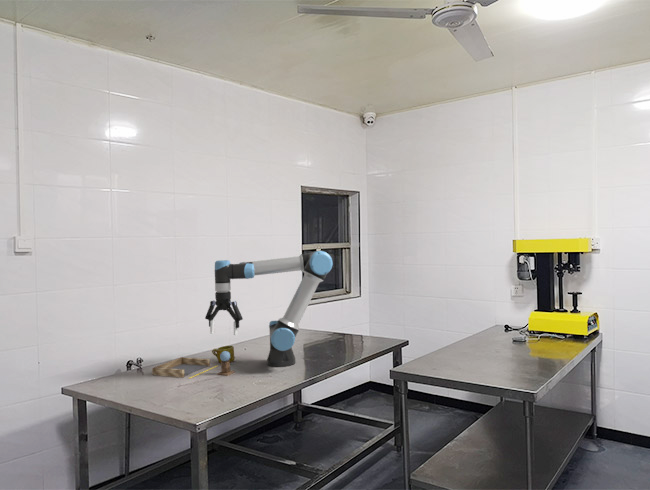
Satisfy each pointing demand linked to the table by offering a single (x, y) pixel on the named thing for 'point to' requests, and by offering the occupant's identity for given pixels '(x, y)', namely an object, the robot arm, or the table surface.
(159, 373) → the wooden u-shaped frame
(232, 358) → the mug
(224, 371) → the tee
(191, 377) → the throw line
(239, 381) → the table surface
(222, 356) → the ball
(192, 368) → the mat
